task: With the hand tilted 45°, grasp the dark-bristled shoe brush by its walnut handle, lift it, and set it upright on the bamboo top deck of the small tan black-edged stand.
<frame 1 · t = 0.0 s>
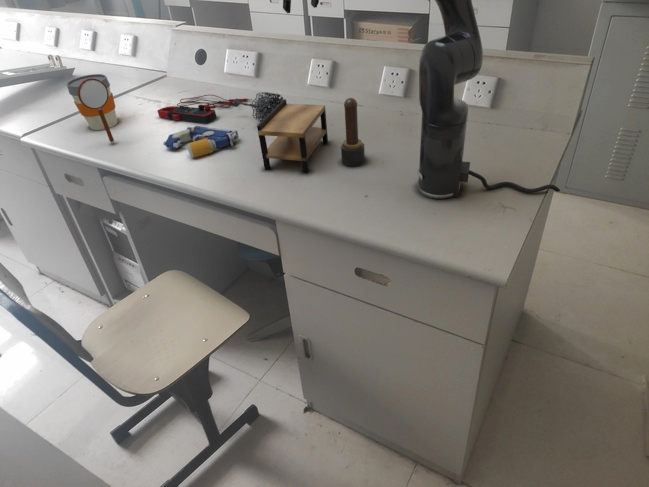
hand: (300, 9, 126), 31 cm above the table, tool tilted 20°, fingers open, 8 cm apart
massage brush: (264, 122, 146), on the table
reusable coffee cup: (104, 125, 155), on the table
magnifying glass: (113, 144, 142), on the table
digital clamp meter: (204, 110, 158), on the table
tan black-edged stand: (297, 155, 125), on the table
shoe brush: (353, 161, 120), on the table
spray gun: (200, 147, 135), on the table
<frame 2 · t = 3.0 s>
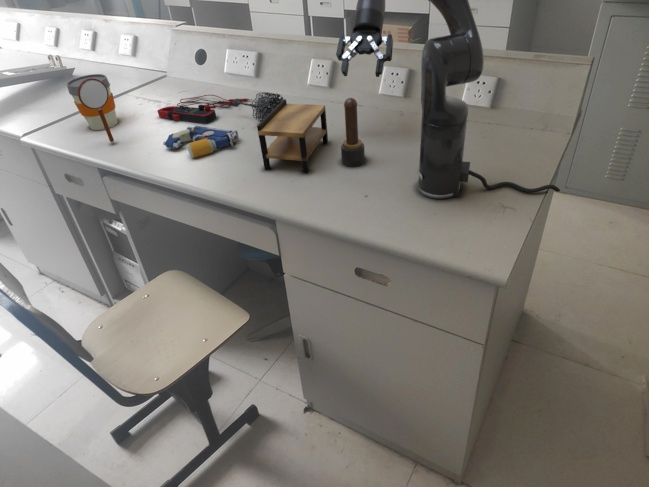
hand: (360, 75, 117), 19 cm above the table, tool tilted 45°, fingers open, 8 cm apart
nothing on the table moved.
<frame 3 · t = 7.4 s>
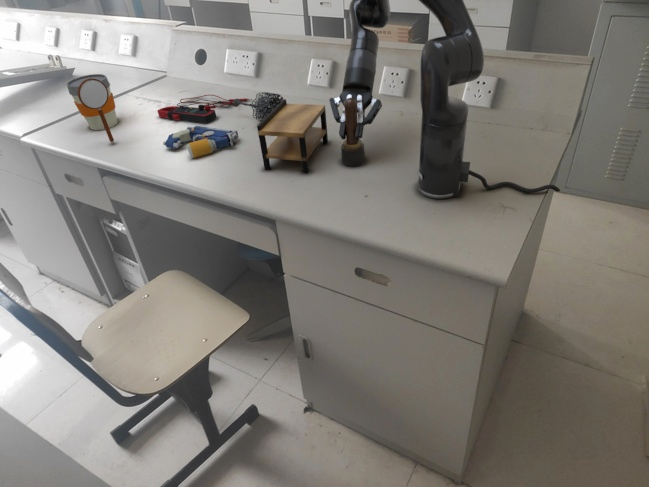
hand: (350, 138, 114), 7 cm above the table, tool tilted 45°, fingers closed on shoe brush, 3 cm apart
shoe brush: (353, 161, 120), on the table, touching gripper
everything else where it was.
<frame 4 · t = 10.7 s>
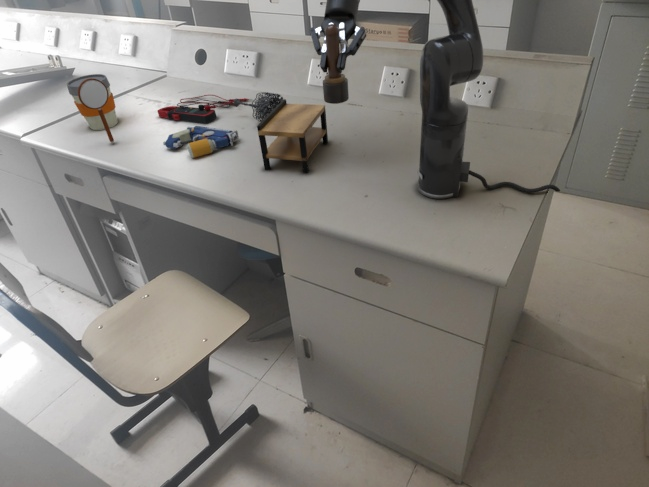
hand: (331, 70, 105), 24 cm above the table, tool tilted 45°, fingers closed on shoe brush, 3 cm apart
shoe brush: (336, 99, 111), point 16 cm above the table, touching gripper
everything else where it was.
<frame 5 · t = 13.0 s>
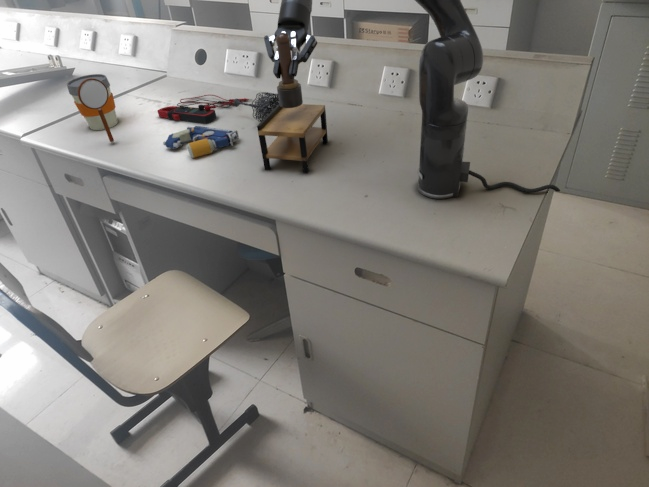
hand: (284, 76, 110), 22 cm above the table, tool tilted 45°, fingers closed on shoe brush, 3 cm apart
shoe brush: (291, 103, 116), point 15 cm above the table, touching gripper
everything else where it was.
when the fingers open (18 cm above the table, at t = 14.3 s): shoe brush stays where it is, resting on tan black-edged stand.
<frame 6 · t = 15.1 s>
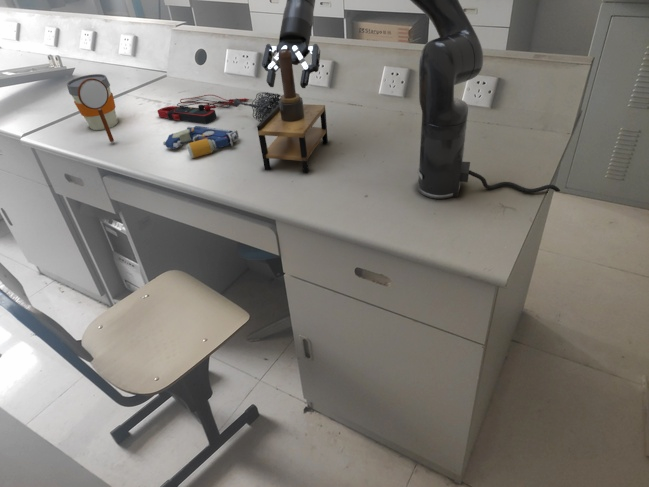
hand: (286, 86, 112), 19 cm above the table, tool tilted 45°, fingers open, 8 cm apart
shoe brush: (292, 117, 118), point 11 cm above the table, touching tan black-edged stand
everything else where it was.
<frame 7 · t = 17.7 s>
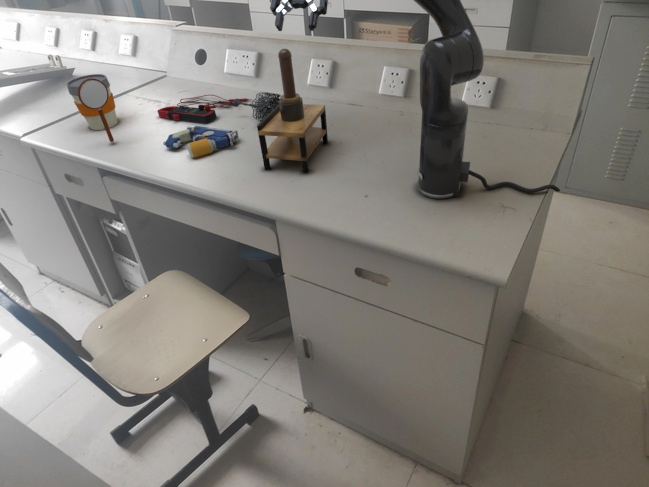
hand: (294, 29, 113), 30 cm above the table, tool tilted 45°, fingers open, 8 cm apart
nothing on the table moved.
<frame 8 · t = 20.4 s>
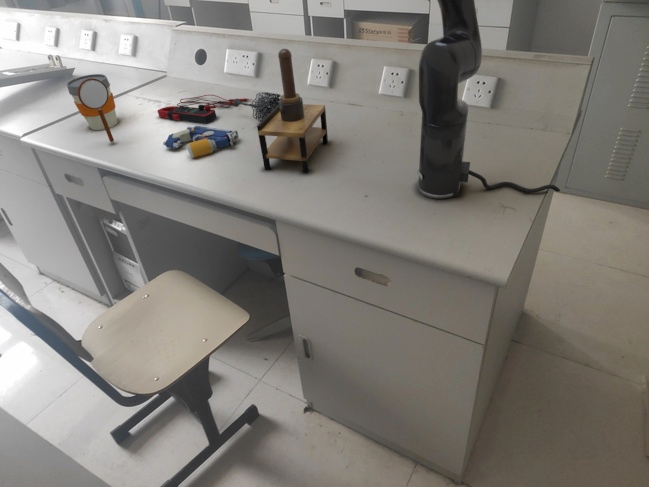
nothing on the table moved.
at the end: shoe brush inside the target area on the tan black-edged stand (0.1 cm from its centre), point 11.0 cm above the tan black-edged stand's base; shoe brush tilted 0°; the gripper is holding nothing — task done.
